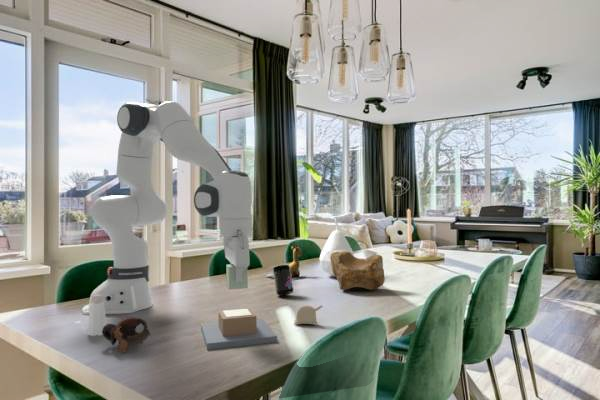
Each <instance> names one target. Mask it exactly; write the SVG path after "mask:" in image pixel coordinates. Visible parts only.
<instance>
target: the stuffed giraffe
mask: <svg viewBox="0 0 600 400" xmlns="http://www.w3.org/2000/svg"><path fill="white" fill-rule="evenodd" d="M290 249H291V250H292V251H293V252H292V253H293V254H292V255H293V256H292V258H293V261H291V263H289V264H288V265H289V266H290V272H291V278H292V281H296V280H300V279H301V280H302V279H306V275H303V276H302V275H301V276H300V273H301V272H300V270H299V268H300V260H299V257H302V255H303V251H302V249H301V247H299V246H298V245H294V244H292V246H291V248H290ZM267 277H270V278H273V279H274V273H273V274H268V275H267Z"/></svg>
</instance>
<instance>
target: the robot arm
mask: <svg viewBox="0 0 600 400" xmlns="http://www.w3.org/2000/svg"><path fill="white" fill-rule="evenodd" d="M116 117H117V118H116V121H117V126H118V128H119V129H120V131H121V135H120V139H119V144H118V149H117V150H118V151H117V162H116V176H117V178H118V179H117V180H119V181H120V182H121V183H122V184H125V186H128V187H129V189H130V190H129V191H130V194H129V195H128V194H127V195H126V194H125V195H113V194H112V195H106V196H101V197H98V198H97V199H95V200H94V202H93V203H92V206H91V210H90V213H91V218H92V220H93V222H94V223H95V225H97V226H98V227H100V228H101V229H102V230H104V232H105V233H106V234H107V235H108V237H109V239H110V241H111V244H112V252H113V266H109V267H108V268H107V270H106V271H107V279H106V280H105V281H103V282H102V283H101V284H99V285H98V286H97V287H96V288H95V289H93V291H92V292H91V294H90V297H89V302H88V304H86V305H84V306H83V307H82V309H81V313H82V314H83V315H86V316H89V311H90V305H91V304H92V297H91V296H92V295H95V294H102V295H103V296H102V303H104V307H105V315H113V314H114V315H115V314H120V315H121V314H133V313H135V312H138V311H142V310H146V309H148V308H149V309H150V308H151V307H152V306H153V305H154V303H153V300H152V295H151V291H150V283H149V282H150V278H151V277H150V273H151V272H150V271H151V270H150V265H149V263H148V261H149V259H148V258H149V256H148V255H149V253H148V251H149V250H148V249H149V247H148V244H147V242H146V241H145V240H144V239H143V238H141V237H138V235H137V236H136V235H135V232H134V231H133V230H134V229H133V227H147V226H153V225H156V224H160V223H162V222H163V220H165V217H166V215H167V205H166V203H165V201H164V200H163V199H162V198H161V197H160V196H159V195H158V194H157V192H156V190H155V188H154V186H153V181H152V164H153V148H154V143H155V142H156V141H157V140H160V141H161V142H162V143H163V144H164V146H165V148H166V150H167V151H168V152H169V153H170V155H172V156H173V157H174V158H175V159H178V160H180V161H182V162H186V163H189V164H192V165H195V166H198V167H200V168H202V169H203V170H205V171H206V172H207V173H209V174H210V176H211V178H212V179H213V180H211V181H210V182H207V183H205V184H204V183H203V184H200V186H198V188H197V189H196V190H195V192H194V196H193V204H194V208H195V210H196V212H197V213H198V214H199V215H201V216H203V217H207V218H208V217H210V218H214V217H215V218H218V217H219V236H221V237H222V240H223V249H224V257H225V259H226V260H228V262H229V264H233V265H234V266H235V280H236V282H242V280H243V270H244V267H247V268H248V267H249V266H250V263H251V262H250V261H251V259H250V241H249V236H252V235H253V216H252V211H251V210H252V208H251V207H252V204H253V192H252V182H251V178H250V176H249V175H248V174H247V173H246V172H244V171H239V170H232V169H231V168H230V166H229V165H228V164H227V161H226V160H225V159H224V158H223V157H222V155H221V154H220V153H219V151H218V150H217V149H216V148H215V147H214V146H213V145H212V144H211V143H210V142H209V141H208V140H207V139H206V138H205V136H203V134H202V133H201V131H200V130H199V129H198V127H197V125H196V123H195V122H194V120H193V119H192V117H191V116H190V114H189V113H188V111H186V110H185V108H184V107H183V105H181V104H180V103H178V102H176V101H172V100H171V101H164V102H163V103H161V104H154V103H153V104H152V103H151V104H149V103H139V102H136V101H135V102H125V103H124V104H122V105H121V106H120V107H119V109H118V111H117V116H116Z"/></svg>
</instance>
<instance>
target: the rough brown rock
mask: <svg viewBox="0 0 600 400" xmlns="http://www.w3.org/2000/svg"><path fill="white" fill-rule="evenodd" d="M330 259H331V266H332V270H333V274H334V275H335V276H336V280H337V282H338V285H339V289H340V290H341V291H342V290H343V291H344V290H350V289H352V288H364V289H366V290H370V291H372V290H373V291H374V290H376V289H377V290H378V289H379V288H381V287H382V286H384V283H385V269H384V263H383V262H384V261H383V260H384V258H383V256H382V255H381V254H373V255H371V256H369V257H366V259H365V258H358V257H355V255H354V256H353V255H352V254H351V253H350V252H347V251H344V252H334V253H332V254H331V257H330Z"/></svg>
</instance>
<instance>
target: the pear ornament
mask: <svg viewBox="0 0 600 400" xmlns="http://www.w3.org/2000/svg"><path fill="white" fill-rule="evenodd" d="M334 223H335V230H333V231H331V233H330V234H329V236H328V238H327V240H326V241H325V244H324V246H323V248H322V250H321V251H320V255H319V258H318V259H319V263H320V266H321V269H322V271H324V272H325V273H326V274H328V275H330V276H331V277H336V276H335V275H334V274H333V270H332V266H331V259H330V257H331V254H332V253H334V252H344V251H347V252H350V253H351V254H352V255H353V256H354V257H355V255H354V252H353V251H354V250H353V249H352V247H351V245H350V243H349V242H348V240H347V238H346V236H345V234H344V233H343V232H342V231H341V230H343V231H345V232H347V231H348V228H347V226H343V225H340V224H338V221H337V219H336V218H335V219H334ZM339 229H341V230H339ZM336 278H337V277H336Z"/></svg>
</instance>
